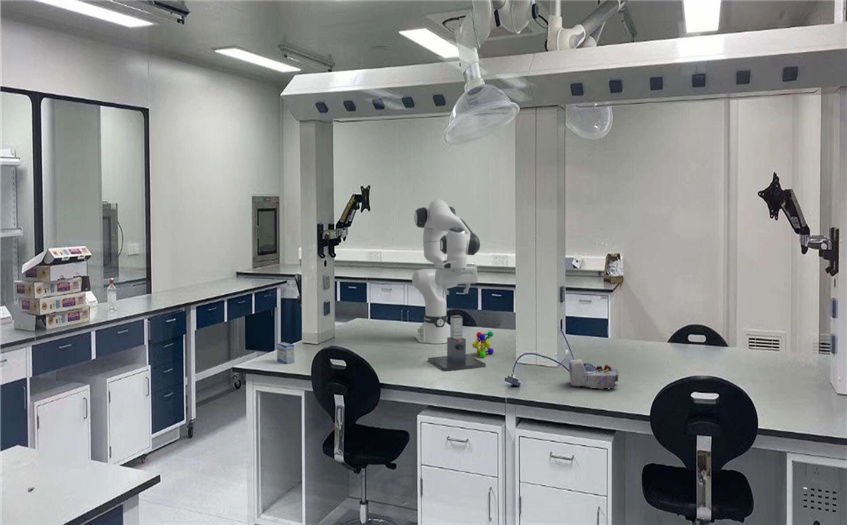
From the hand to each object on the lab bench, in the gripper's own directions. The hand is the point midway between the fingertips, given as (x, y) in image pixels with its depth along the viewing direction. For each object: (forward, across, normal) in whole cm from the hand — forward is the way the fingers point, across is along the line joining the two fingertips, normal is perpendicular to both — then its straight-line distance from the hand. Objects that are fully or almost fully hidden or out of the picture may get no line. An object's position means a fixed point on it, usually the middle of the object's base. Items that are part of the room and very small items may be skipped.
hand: (456, 294), depth 301 cm
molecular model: (+33, -19, -10) cm, 39 cm away
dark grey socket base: (+32, 0, 0) cm, 33 cm away
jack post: (+27, 0, 0) cm, 27 cm away
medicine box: (+33, +72, -34) cm, 86 cm away
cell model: (+33, -37, +54) cm, 73 cm away
